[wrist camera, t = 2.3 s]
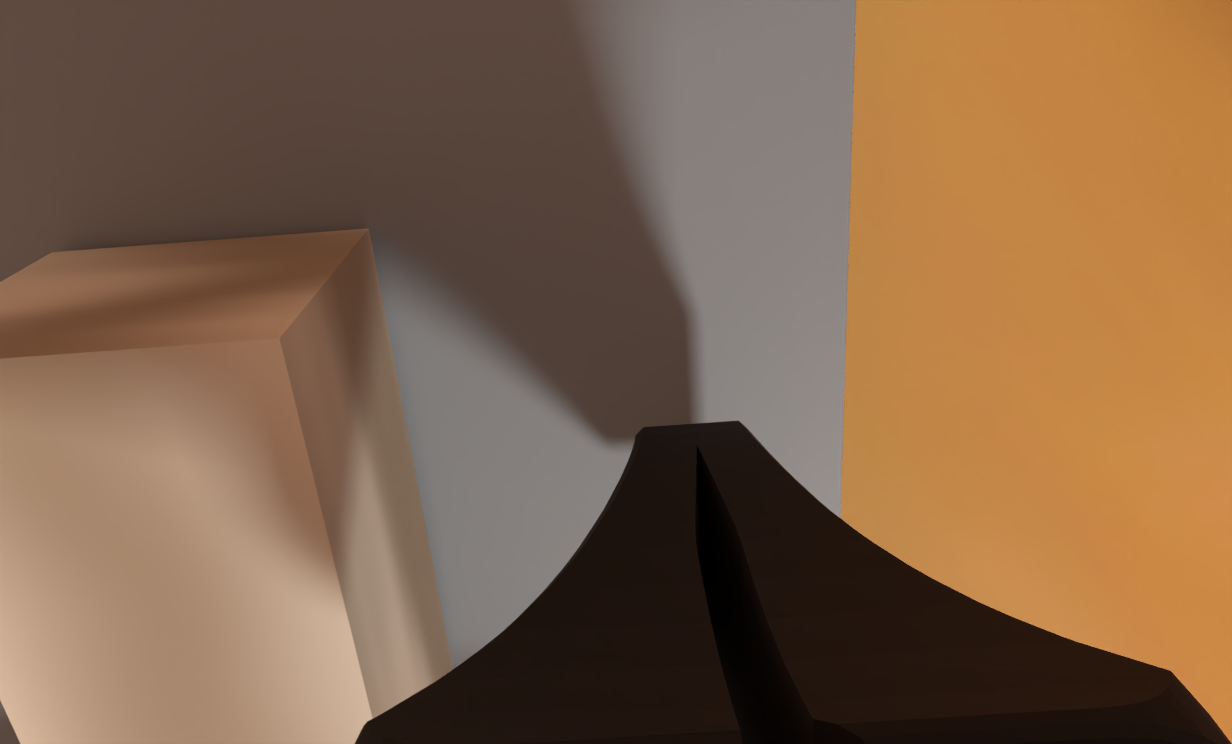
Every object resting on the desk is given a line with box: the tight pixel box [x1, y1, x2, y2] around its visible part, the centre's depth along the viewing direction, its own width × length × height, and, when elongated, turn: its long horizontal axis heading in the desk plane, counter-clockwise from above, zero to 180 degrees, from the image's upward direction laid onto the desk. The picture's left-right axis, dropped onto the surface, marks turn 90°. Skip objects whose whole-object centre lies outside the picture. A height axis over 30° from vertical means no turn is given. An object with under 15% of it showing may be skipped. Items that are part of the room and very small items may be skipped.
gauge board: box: [0, 0, 856, 744], centre depth 12 cm, size 22×20×6 cm
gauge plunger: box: [0, 228, 452, 744], centre depth 12 cm, size 4×11×5 cm, turn 4°
